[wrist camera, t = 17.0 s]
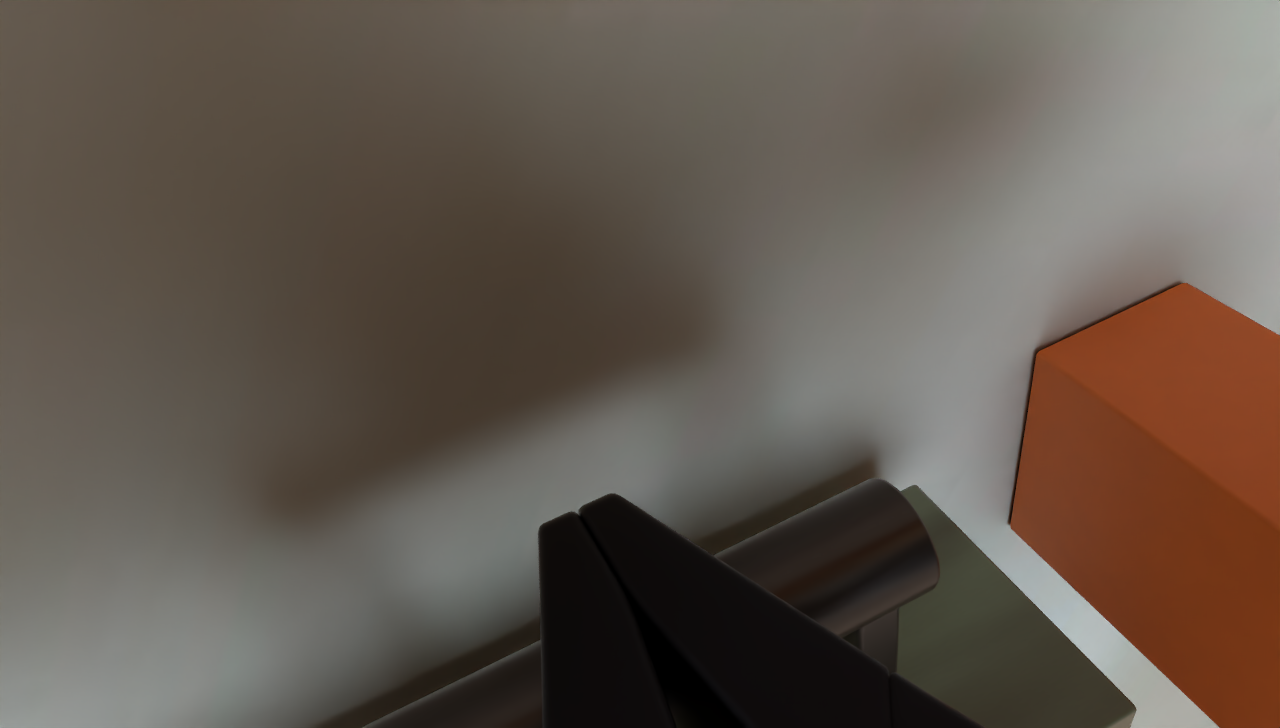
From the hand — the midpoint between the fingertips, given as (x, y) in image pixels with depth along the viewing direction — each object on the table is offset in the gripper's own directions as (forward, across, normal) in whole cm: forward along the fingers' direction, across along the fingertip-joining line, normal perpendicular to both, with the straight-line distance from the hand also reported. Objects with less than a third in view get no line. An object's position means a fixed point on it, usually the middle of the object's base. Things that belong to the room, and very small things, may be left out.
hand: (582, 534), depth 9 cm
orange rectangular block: (+3, -11, +7) cm, 13 cm away
